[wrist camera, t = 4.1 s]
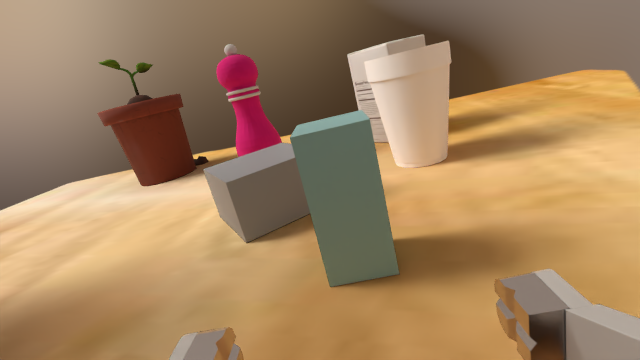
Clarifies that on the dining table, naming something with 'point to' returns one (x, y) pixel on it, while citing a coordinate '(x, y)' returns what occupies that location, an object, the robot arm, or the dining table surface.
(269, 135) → the pepper mill
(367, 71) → the foam cup
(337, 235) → the block
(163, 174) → the potted plant
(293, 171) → the pedestal
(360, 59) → the supplement box
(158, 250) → the dining table surface
